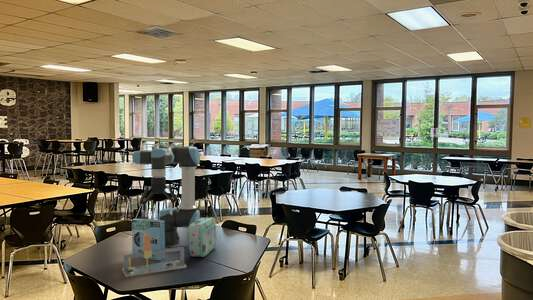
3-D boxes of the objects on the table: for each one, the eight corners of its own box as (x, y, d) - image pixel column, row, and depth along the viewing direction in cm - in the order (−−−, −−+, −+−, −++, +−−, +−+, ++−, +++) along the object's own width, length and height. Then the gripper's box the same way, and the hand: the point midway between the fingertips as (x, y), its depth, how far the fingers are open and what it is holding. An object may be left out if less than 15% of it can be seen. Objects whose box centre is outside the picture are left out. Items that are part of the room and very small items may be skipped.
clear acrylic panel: (123, 270, 212) (123, 254, 212) (183, 261, 227) (182, 246, 227) (124, 272, 210) (124, 255, 209) (184, 263, 225) (184, 247, 224)
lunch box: (203, 260, 234) (203, 223, 233) (186, 259, 236) (186, 222, 235) (218, 247, 260) (218, 214, 259) (202, 246, 262) (202, 213, 261)
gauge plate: (122, 270, 216) (122, 267, 216) (180, 261, 231) (180, 258, 231) (125, 277, 206) (125, 273, 206) (186, 267, 221) (186, 264, 221)
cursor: (142, 267, 217) (142, 234, 217) (150, 265, 219) (149, 233, 219) (144, 269, 214) (143, 236, 213) (151, 268, 216) (151, 235, 215)
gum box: (165, 258, 237) (164, 220, 236) (160, 261, 232) (160, 221, 231) (136, 255, 243) (136, 217, 242) (131, 257, 238) (131, 219, 237)
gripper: (136, 178, 210) (136, 218, 211) (182, 176, 222) (183, 214, 223) (133, 177, 216) (133, 216, 217) (178, 174, 229) (178, 212, 230)
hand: (158, 215), depth 220 cm, fingers open, 13 cm apart
